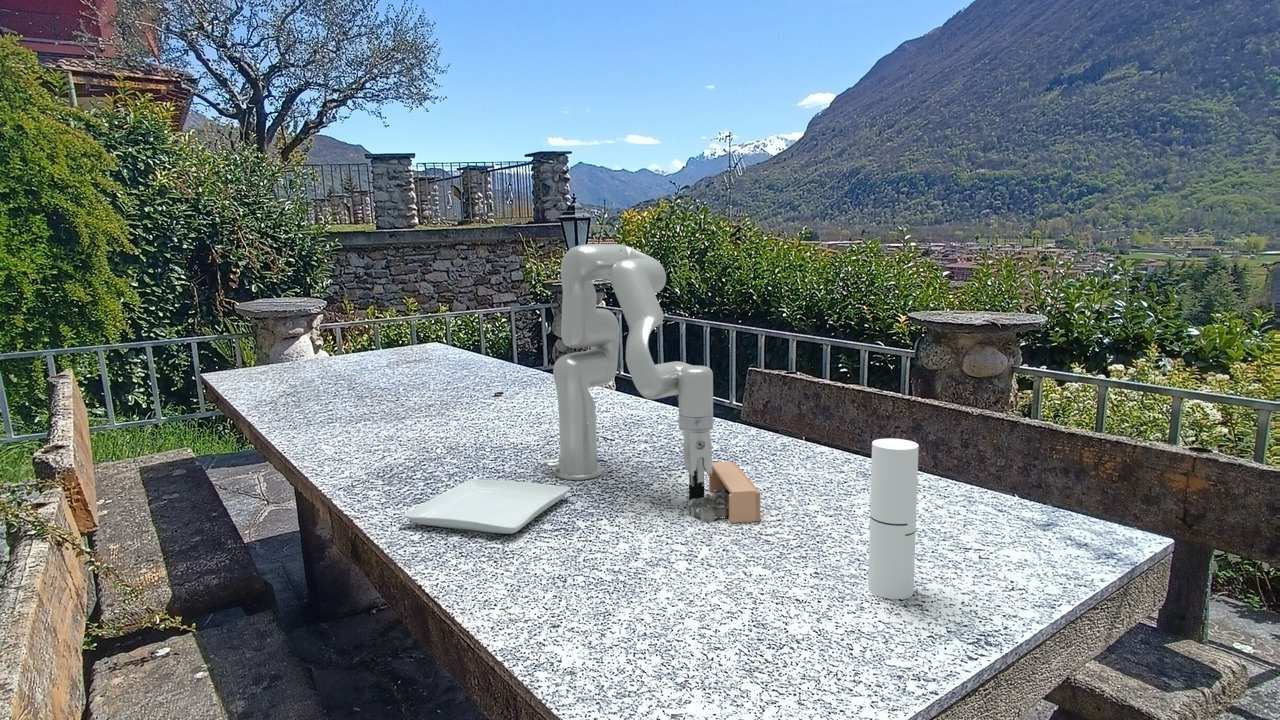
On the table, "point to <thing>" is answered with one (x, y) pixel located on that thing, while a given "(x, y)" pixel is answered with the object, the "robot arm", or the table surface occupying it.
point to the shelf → (736, 491)
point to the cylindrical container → (893, 518)
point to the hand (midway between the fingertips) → (696, 502)
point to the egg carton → (710, 506)
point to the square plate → (488, 505)
